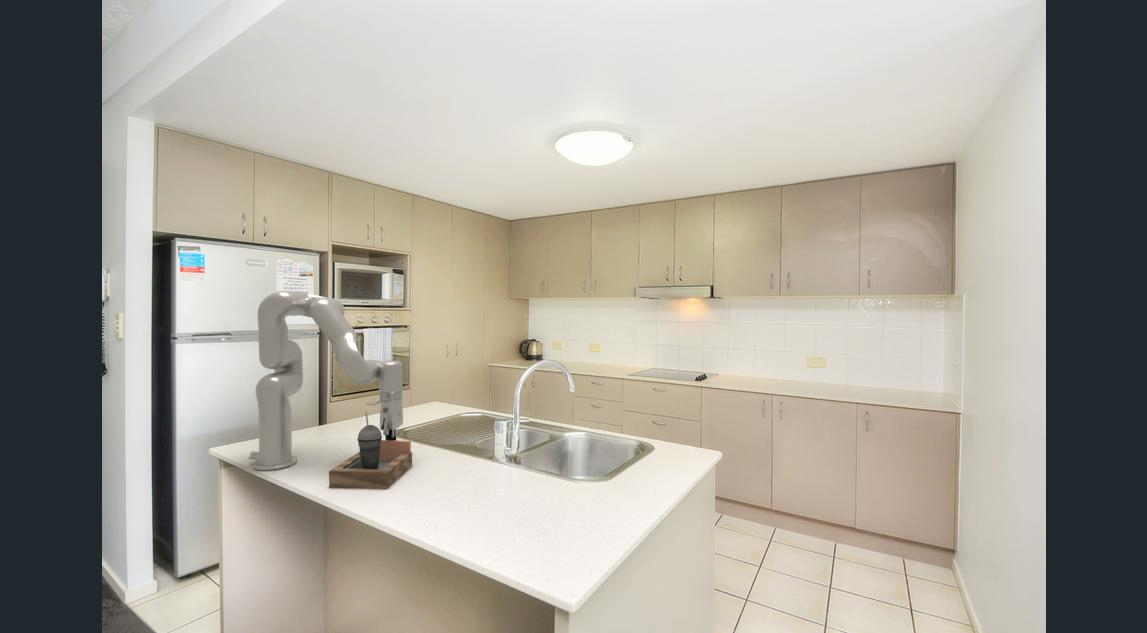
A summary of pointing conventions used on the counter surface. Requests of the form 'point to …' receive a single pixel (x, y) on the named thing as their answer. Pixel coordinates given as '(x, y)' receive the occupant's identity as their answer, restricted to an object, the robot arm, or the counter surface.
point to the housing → (369, 474)
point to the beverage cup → (369, 446)
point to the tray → (387, 453)
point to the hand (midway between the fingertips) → (391, 447)
